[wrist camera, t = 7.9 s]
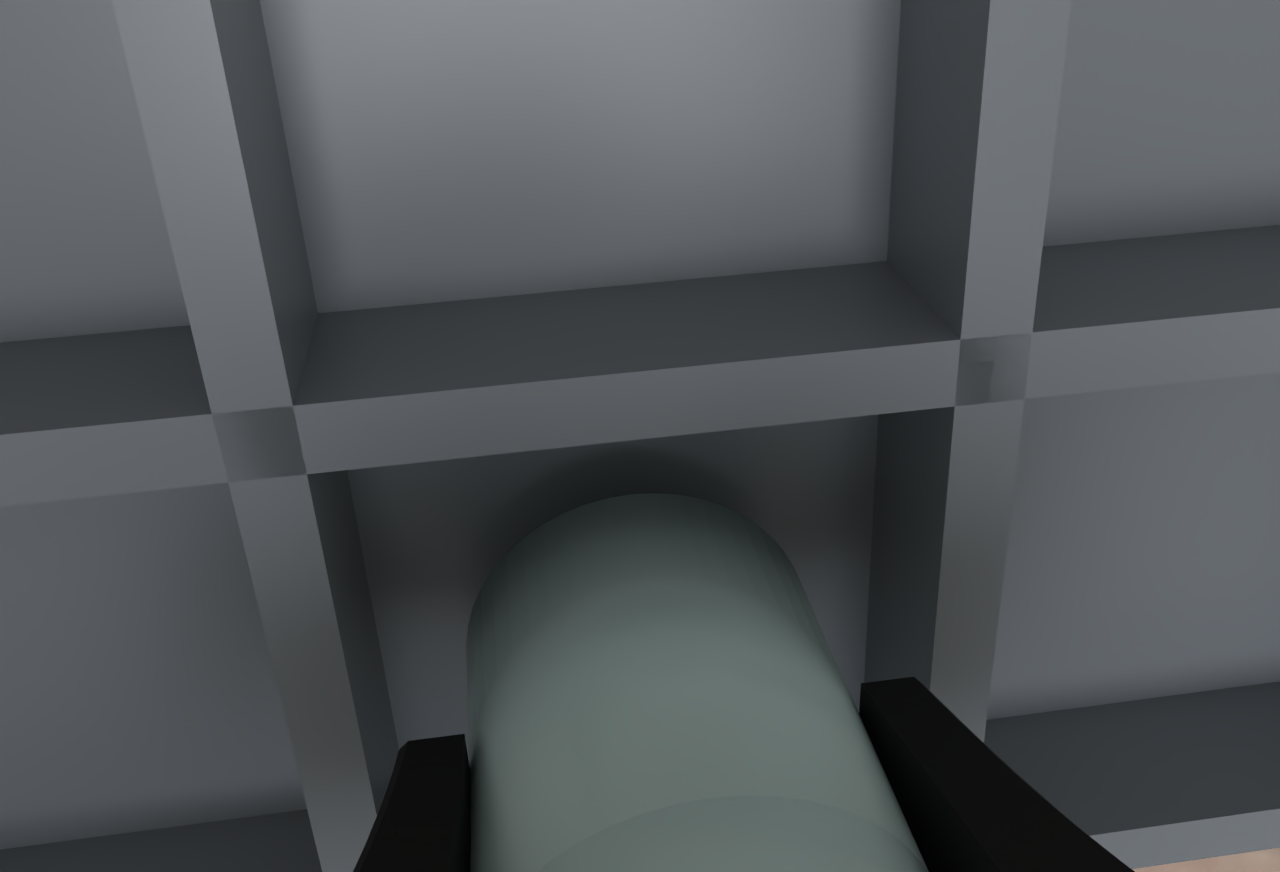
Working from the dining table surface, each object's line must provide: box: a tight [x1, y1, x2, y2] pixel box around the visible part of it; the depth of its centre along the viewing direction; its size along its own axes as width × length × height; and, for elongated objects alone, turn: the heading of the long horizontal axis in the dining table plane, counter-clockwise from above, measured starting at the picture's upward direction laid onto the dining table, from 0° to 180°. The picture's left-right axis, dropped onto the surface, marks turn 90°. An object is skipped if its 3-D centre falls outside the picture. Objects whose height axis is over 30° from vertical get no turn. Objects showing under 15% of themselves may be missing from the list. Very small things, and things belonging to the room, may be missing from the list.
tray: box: [0, 0, 1280, 872], centre depth 14 cm, size 24×16×4 cm
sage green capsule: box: [466, 493, 929, 872], centre depth 12 cm, size 4×4×7 cm
